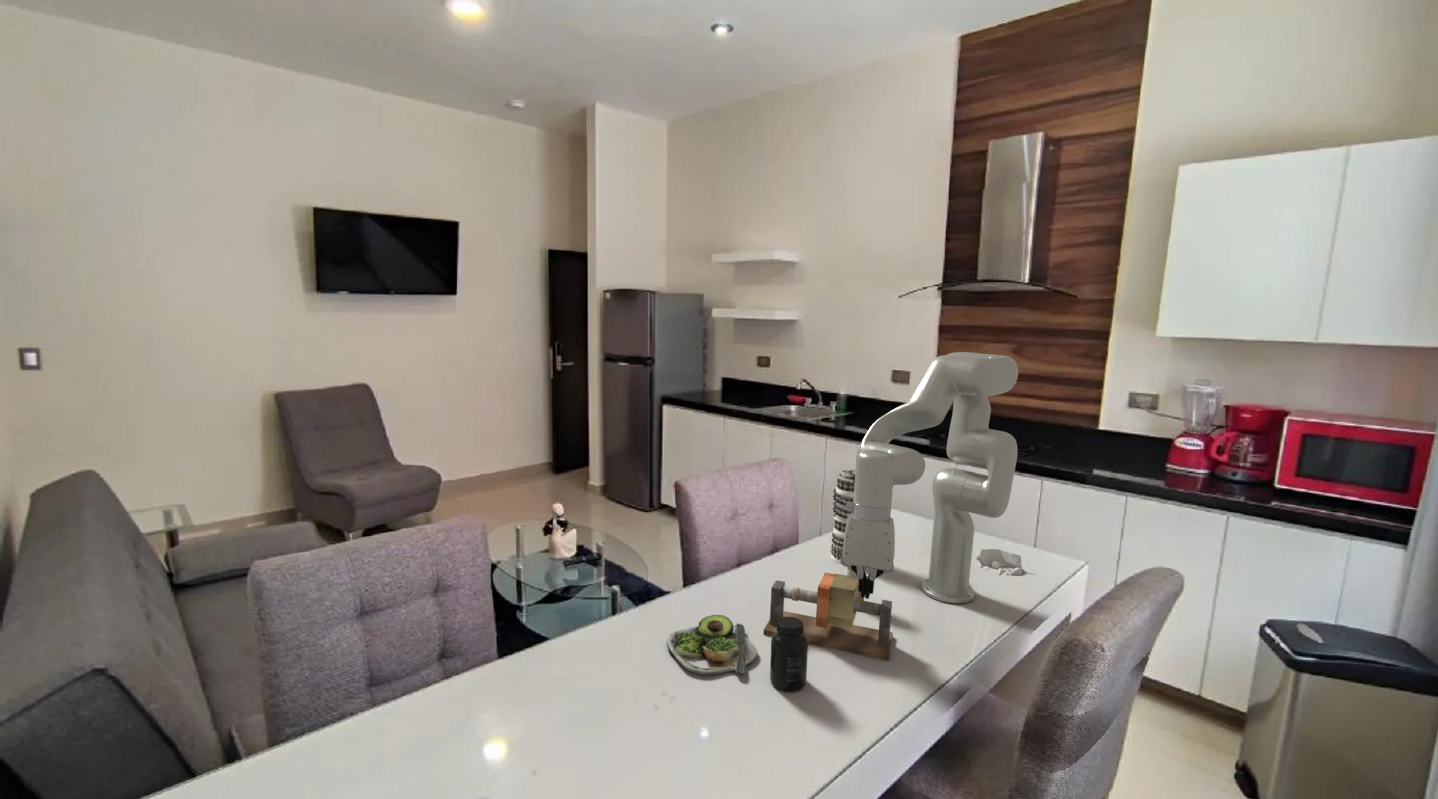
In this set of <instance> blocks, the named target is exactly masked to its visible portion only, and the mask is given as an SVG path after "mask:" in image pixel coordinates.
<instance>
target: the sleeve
mask: <svg viewBox="0 0 1438 799" xmlns="http://www.w3.org/2000/svg"><path fill="white" fill-rule="evenodd" d="M834 574H835V576H834V578H833V581H832V583H831V585H830V595H829V610H828V623H832V624H837V625H842V626H847V627H852V626H853V625H854V622H855V618H856V615H857V614H858V612H857V611H854V603H855V599H858V585H859V578H858V577H852V576H847V574H840V573H834Z"/></svg>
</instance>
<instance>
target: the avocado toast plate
mask: <svg viewBox="0 0 1438 799" xmlns="http://www.w3.org/2000/svg"><path fill="white" fill-rule="evenodd" d="M745 633H746V629H745V626H744V625H743V624H742V623H736V624H735V625H734V624H733V621H732V620H731V619H730V618H729V617H728V616H725V615H723V614H711V615H708V616H705V617H703V618H702V619H701V620H700V621H699V622H698V626H694V627H688V628H682V629H678V630H675V631H673V632H671V633H670V634H669V636H668V638H667V640H666V646H667V649H668V652H669V653H670V654H671V655H672V656H674V658H675V659H676V661H677V662H678V663H679V664H680V665H682V667H684V668H685V669H686V670H688V671H690V672H692V673H694V674H699V675H702V676H718V675H723V674H726V673H731V672H736V673H737V674H739V675H740V674H741V675H742V674H746V667H747V665H749V664H750V663H752V662H753V661H754V660H755V658H756V656H757V655H758V650H757V647H756V646H755V645H754V643H753V642H751V640H749V638H747V636H746V635H745ZM684 657H686V658H700V659H701V658H703V659H705V660H707V661H709V662H708V663H710V664H713V665H711V666H709V667H706V668H705V667H699V666H696V665H693V664H692V663H690V662H689V661H687V660H686V658H684Z"/></svg>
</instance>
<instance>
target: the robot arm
mask: <svg viewBox="0 0 1438 799" xmlns="http://www.w3.org/2000/svg"><path fill="white" fill-rule="evenodd" d="M1018 376H1019V367H1018V364H1017V362H1016V360H1014V359H1013V357H1010V356H1009V355H1001V354H992V353H991V354H990V353H980V352H978V353H977V352H970V351H969V352H967V351H964V352H963V351H955V352H950V353H948V354H946V355H945V354H944V355H938V356H936V357H935V358H933V359H931V361H930V363H929V364H928V366H927V367H926V369H925V370H924V372H923V374H922V376H921V377H920V379H919V381H918V383H916V384H917V385H916V387H915V388H914V390H913V391H912V393H911V394H910V396H909V398H908V400H907V401H906V402H905V403H903V404H901V405H899V406H897V407H895V408H894V409H892V410H890V411H888V412H887V413H885V414H883V415H882V416H881V417H879V418H878V419H876V420H875V422H873V423H872V425H871V426H870V427H869V429H868V430H867V432H866V433H865V435H864V437H863V439H862V441H861V442H860V443H859V447H858V449H857V452H856V457H855V462H856V463H855V471H856V472H855V487H854V501H852V502H846V508H847V509H850V510H851V511H852V513H851V514H850V515H849V516H848V520H847V524H846V529H845V535H844V543H843V555H842V558H843V559H842V562H841V565H842V566H844V567H846V568H847V567H848V568H851V569H852V570H853V571H854V572H855V573H856V575H857V576H858V578H859V586H858V591H859V592H861V598H864V599H867V600H868V599H869V598H870V595H873V594H874V588H875V580H876V579H877V578H879V577H880V576H882V575H883V574H885V575H888V574H894V572H895V564H894V561H895V560H894V559H895V552H896V551H895V550H896V549H895V547H896V539H895V536H896V535H895V534H896V533H895V531H896V530H895V522H894V518H892V517H891V516H892V515H891V513H892V500H893V490H894V489H893V488H894V486H898V485H899V486H901V485H903V486H905V485H911V484H914V483H916V482H918V481H919V480H920V479H921V478H922V477H923V475H924V473H925V469H926V461H925V458H924V457H923V455H922V453H921V452H919V451H917V450H915V449H913V448H909V447H905V446H899V445H896V444H892V443H890V442H892V440H894V439H895V438H897V437H900V436H902V435H904V434H907V433H911V432H916V431H921V430H925V429H929V428H930V429H931V428H933V427H936V426H938V425H940V424H942V423H943V421H944V420H945V418H946V415H947V414H948V412H949V410H950V408H951V406H952V405H953V408H952V415H951V420H950V425H949V430H948V437H947V443H946V455H947V457H948V458H949V459H950V460H951V461H952V462H956V463H958V464H961V465H966V466H970V467H975V468H979V469H985V470H987V475H986V474H982V473H979V472H975V471H970V470H966V469H961V468H955V467H954V468H953V467H946V468H943V469H942V468H941V469H940V470H938V472H937V473H936V474H935V475H934V477H933V479H932V488H931V489H932V498H933V524H932V526H933V527H932V535H931V546H930V560H929V570H928V578H926V579H924V580H922V582H921V591H922V592H923V593H925V595H926V596H929V597H930V598H932V599H935V600H938V601H939V602H944V603H951V604H965V603H970V602H972V601H973V600H975V595H976V594H975V593H976V592H975V590H974V588H972V586H970V578H971V577H970V576H971V568H972V566H971V565H972V558H973V548H974V547H973V546H974V539H975V538H974V537H975V524H974V521H973V518H972V516H971V514H975V515H979V516H982V517H987V518H992V519H997V518H1000V517H1001V516H1003V515H1004V514H1005V512H1006V511H1007V508H1008V505H1009V502H1010V498H1011V493H1012V488H1013V482H1014V476H1015V471H1016V466H1017V460H1018V443H1017V440H1016V438H1015V437H1014V436H1013V435H1012V434H1010V433H1008V432H1006V431H1003V430H998V429H997V430H995V429H990V428H989V424H990V419H991V413H992V407H991V402H990V400H989V398H988V397H992V396H997V395H1001V394H1005V393H1007V392H1009V391H1010V390H1012V389H1013V387H1014V386H1015V385H1016V383H1017V380H1018ZM865 567H866V568H867V569H870V572H869V573H868V575H867V572H865Z"/></svg>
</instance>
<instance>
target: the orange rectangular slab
mask: <svg viewBox="0 0 1438 799" xmlns="http://www.w3.org/2000/svg"><path fill="white" fill-rule="evenodd" d="M835 574H836V573H830V572H829V573H828V572H824V573H823V576H822V578H821V580H820V582H819V584H818V586H817V592H818V593H817V604H816V611H815V617H816V626H818V627H822V628H827V627H828V624H829V623H828V610H829V595H830V585H831V583H832V581H833V578H834V576H835Z"/></svg>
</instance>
